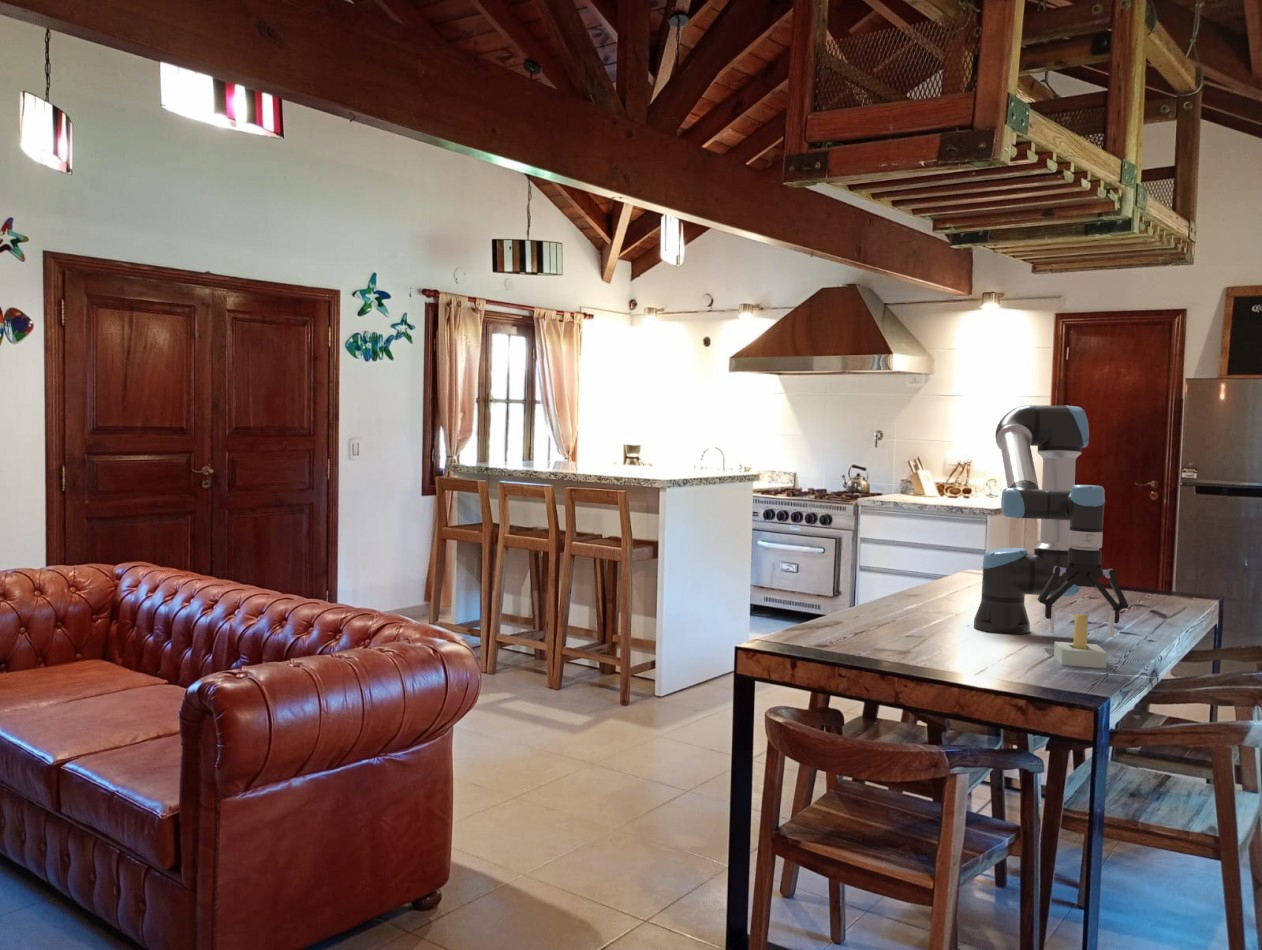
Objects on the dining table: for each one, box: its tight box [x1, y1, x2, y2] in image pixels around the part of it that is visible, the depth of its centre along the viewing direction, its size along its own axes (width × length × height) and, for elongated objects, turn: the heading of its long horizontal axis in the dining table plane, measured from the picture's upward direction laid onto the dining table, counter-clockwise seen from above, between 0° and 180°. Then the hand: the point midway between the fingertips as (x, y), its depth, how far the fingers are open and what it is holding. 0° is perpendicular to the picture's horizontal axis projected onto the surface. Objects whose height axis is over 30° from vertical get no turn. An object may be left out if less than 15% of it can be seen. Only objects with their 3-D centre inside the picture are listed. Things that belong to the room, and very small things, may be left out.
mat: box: [1043, 647, 1054, 656], centre depth 257 cm, size 12×8×1 cm, turn 77°
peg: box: [1073, 613, 1089, 649], centre depth 247 cm, size 3×3×12 cm
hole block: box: [1053, 641, 1108, 669], centre depth 248 cm, size 10×10×4 cm
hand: (1080, 634), depth 247 cm, fingers open, 13 cm apart
